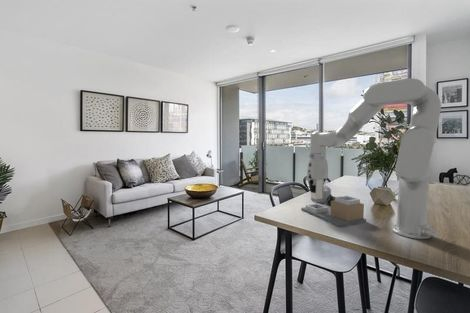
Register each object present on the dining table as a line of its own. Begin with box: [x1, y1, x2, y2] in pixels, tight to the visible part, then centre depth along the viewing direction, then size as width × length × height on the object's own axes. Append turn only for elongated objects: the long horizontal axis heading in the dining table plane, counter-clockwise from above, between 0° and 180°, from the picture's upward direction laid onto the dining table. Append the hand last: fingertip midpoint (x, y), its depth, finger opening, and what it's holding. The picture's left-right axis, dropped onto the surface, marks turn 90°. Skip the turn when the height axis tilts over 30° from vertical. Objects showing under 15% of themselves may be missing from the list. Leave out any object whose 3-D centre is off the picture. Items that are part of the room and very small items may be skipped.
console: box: [301, 195, 367, 228], centre depth 117 cm, size 26×16×10 cm, turn 23°
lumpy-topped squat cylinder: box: [310, 185, 332, 204], centre depth 146 cm, size 10×13×9 cm
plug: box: [310, 179, 324, 199], centre depth 122 cm, size 5×4×10 cm
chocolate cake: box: [324, 192, 336, 207], centre depth 132 cm, size 10×7×12 cm
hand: (316, 191), depth 122 cm, fingers closed on plug, 4 cm apart
